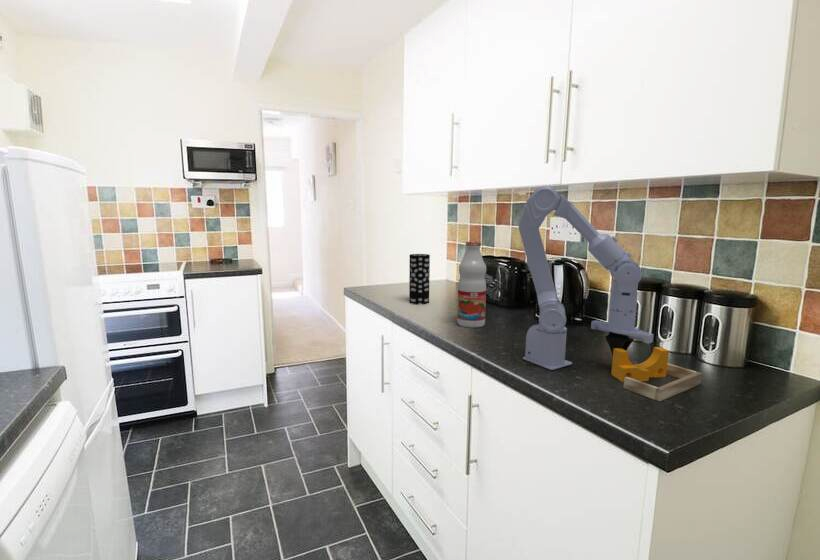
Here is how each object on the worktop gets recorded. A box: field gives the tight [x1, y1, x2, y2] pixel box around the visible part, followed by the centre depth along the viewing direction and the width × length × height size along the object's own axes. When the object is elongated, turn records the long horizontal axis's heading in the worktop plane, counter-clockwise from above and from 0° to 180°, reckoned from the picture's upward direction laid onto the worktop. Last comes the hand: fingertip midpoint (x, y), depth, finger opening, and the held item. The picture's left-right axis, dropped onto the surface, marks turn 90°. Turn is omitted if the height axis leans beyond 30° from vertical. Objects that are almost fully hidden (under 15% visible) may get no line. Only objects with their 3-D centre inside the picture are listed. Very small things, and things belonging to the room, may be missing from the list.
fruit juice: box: [456, 241, 487, 328], centre depth 143 cm, size 9×9×28 cm
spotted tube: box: [408, 253, 431, 305], centre depth 177 cm, size 8×8×20 cm
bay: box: [623, 362, 703, 402], centre depth 95 cm, size 8×17×2 cm, turn 122°
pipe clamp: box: [610, 346, 670, 383], centre depth 99 cm, size 12×4×6 cm, turn 95°
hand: (617, 364), depth 104 cm, fingers closed
